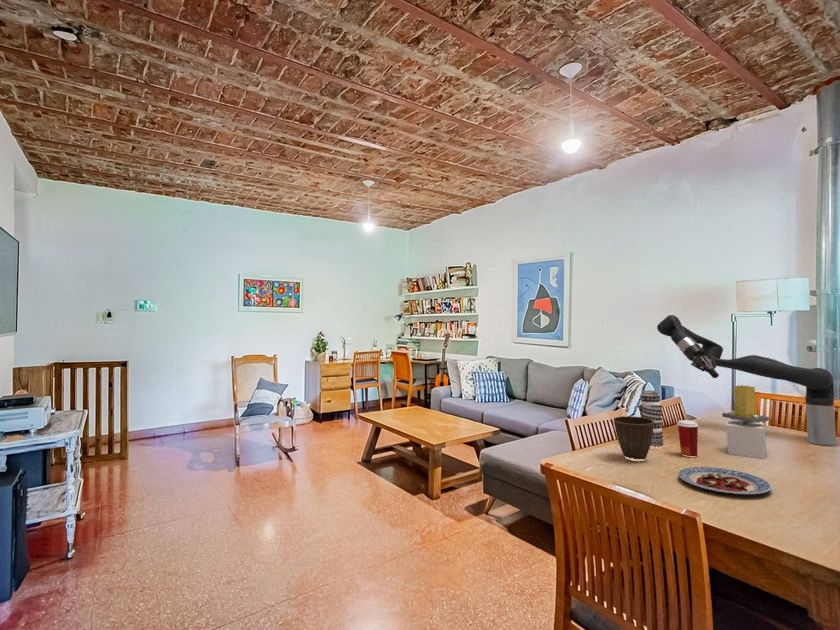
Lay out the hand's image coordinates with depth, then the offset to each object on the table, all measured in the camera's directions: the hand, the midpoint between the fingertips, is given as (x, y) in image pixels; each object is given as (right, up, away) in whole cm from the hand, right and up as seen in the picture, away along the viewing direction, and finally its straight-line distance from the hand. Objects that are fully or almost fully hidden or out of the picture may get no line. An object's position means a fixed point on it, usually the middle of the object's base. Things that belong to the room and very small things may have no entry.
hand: (716, 376), depth 192 cm
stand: (+5, -30, -12) cm, 33 cm away
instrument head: (+4, -15, -11) cm, 19 cm away
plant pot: (-44, -32, -16) cm, 57 cm away
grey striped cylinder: (-28, -32, +1) cm, 42 cm away
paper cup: (-21, -31, -13) cm, 40 cm away
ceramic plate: (-30, -30, -46) cm, 63 cm away
